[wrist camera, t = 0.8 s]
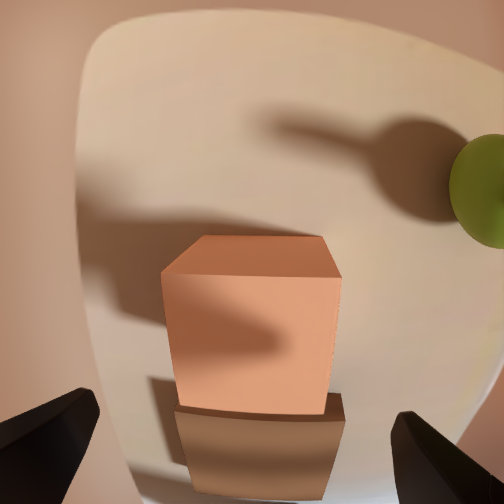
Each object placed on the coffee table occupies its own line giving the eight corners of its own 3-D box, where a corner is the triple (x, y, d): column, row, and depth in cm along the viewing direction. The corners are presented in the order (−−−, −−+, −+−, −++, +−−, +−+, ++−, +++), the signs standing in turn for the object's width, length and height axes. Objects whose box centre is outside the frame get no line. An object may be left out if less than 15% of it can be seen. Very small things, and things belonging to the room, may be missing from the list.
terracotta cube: (315, 340, 17) (323, 414, 11) (210, 336, 18) (180, 405, 12) (322, 236, 16) (341, 277, 10) (203, 234, 16) (159, 272, 10)
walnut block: (320, 472, 21) (321, 500, 18) (202, 465, 22) (194, 491, 19) (339, 389, 18) (345, 421, 15) (187, 381, 19) (173, 411, 16)
